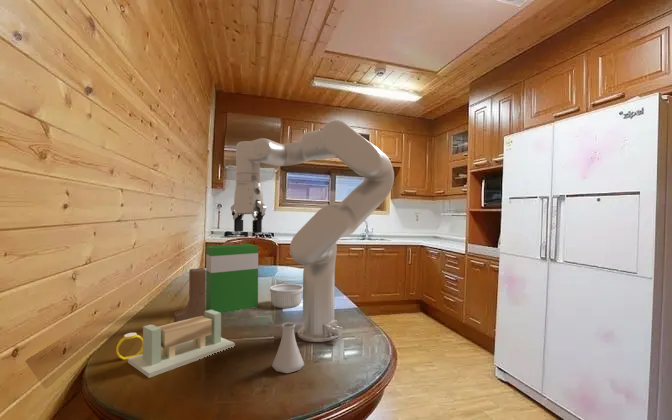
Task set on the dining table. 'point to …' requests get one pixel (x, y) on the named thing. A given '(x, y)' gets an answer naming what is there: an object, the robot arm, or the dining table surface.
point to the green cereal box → (231, 277)
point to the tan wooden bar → (185, 331)
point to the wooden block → (194, 296)
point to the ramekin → (286, 295)
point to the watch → (129, 336)
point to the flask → (288, 351)
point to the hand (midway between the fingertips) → (247, 232)
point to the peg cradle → (177, 349)
